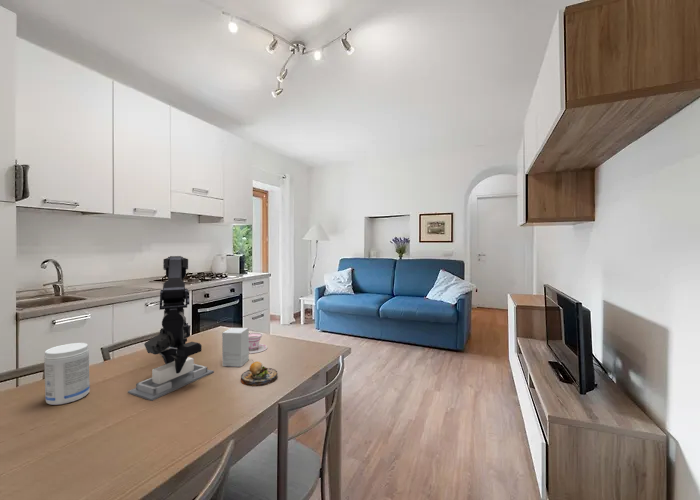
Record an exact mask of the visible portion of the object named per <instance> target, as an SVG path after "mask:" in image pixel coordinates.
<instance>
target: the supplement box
mask: <svg viewBox="0 0 700 500" xmlns="http://www.w3.org/2000/svg"><path fill="white" fill-rule="evenodd" d="M221 335H222V336H221V337H222V338H221V341H222V342H221V345H222V348H221V349H222V357H221V358H222V367H233V368H234V367H236V368H237V367H238V368H239V367H243V366H244V365H245V364H246V363H247V362H248V361H249V360H250V359H249V357H250V356H249V355H250V353H249V351H250V350H249V327H230V328H228V329H227V330H225V331H223V332H222V333H221Z"/></svg>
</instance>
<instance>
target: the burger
mask: <svg viewBox="0 0 700 500" xmlns="http://www.w3.org/2000/svg"><path fill="white" fill-rule="evenodd" d="M251 361H252V363H251V364H250V366H249V369H247V370H246V371H244V372H243V373H242V374H241V375H240V383H242V384H243V386H244V385H245V386H248V387H263V386H268V385H269V384H272V383H274V382H275V381H276V378H277V376H278V371H277V370H276V369H275V368H271V367H266V366H263V362H260V361H253V359H251Z"/></svg>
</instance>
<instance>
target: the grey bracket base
mask: <svg viewBox="0 0 700 500" xmlns="http://www.w3.org/2000/svg"><path fill="white" fill-rule="evenodd" d="M214 372H215V370H212V369H208V366H204V365H201V364H196V363H194V370H192V371H190V372H188V373H185V374H183V375H181V376H178V377H176V378H173V379H171V380H169V381H166V382H164V383H162V384H157V383H154V382H152V377H150V378H148V379H145V380H142V381H139V382H136V384H135V387H134V388H132V389H129V390H127V394H129V395H132V396H135V397H138V398H142V399H145V400H148V401H152V402H153V401H155V400H157V399H159V398H162V397H163V396H165V395H168V394H169V393H172V392H174V391H176V390H179V389H181V388H183V387H185V386H187V385H189V384H191V383H193V382H195V381H199V380H201V379H202V378H203V379H204V378H205V377H206V376H209V375H212V374H214Z"/></svg>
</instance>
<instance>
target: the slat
mask: <svg viewBox="0 0 700 500" xmlns="http://www.w3.org/2000/svg"><path fill="white" fill-rule="evenodd" d="M194 359H195V358H194V357H190V356H188V358H187V359H186V361H185V363H184V365H183V367H182V369H181V371H180V373H176V368H175V360H174V361H173V362H171V363H168V364H165V363H164V364H162V365H160V366H158V367H155V368H152V371H151V374H152V375H151V378H152V382H154V383H157V384H162V383H164V382H166V381H169V380H171V379H173V378H176V377H178V376H181V375H183V374H185V373H188V372H190V371H192V370H194V364H195V360H194Z"/></svg>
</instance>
